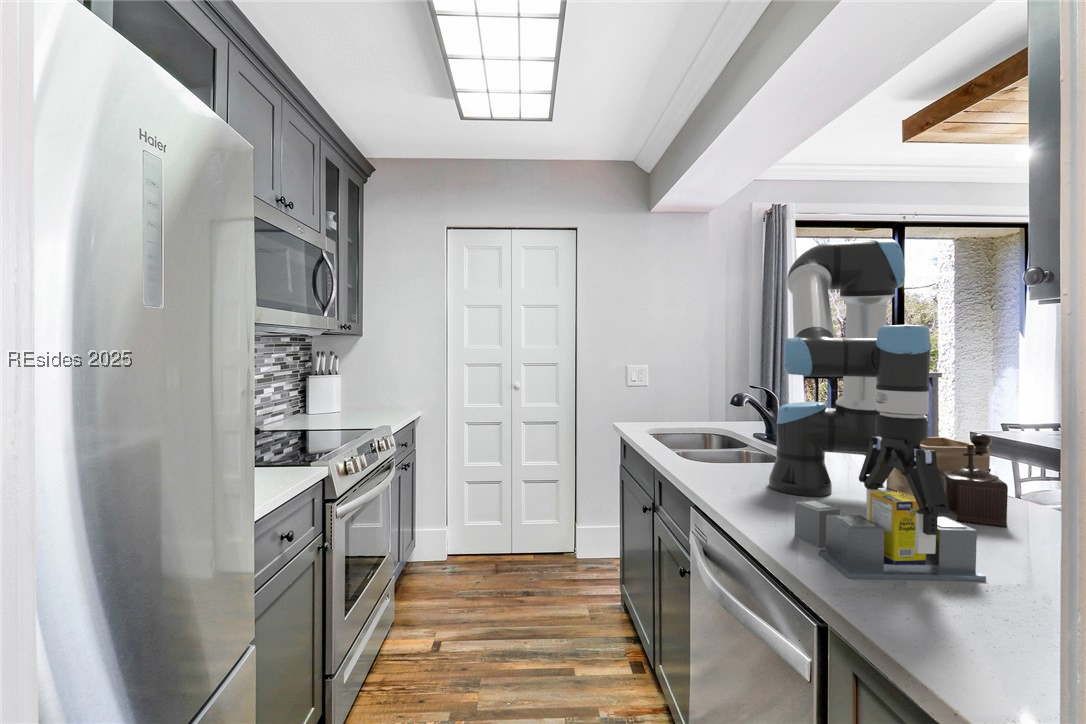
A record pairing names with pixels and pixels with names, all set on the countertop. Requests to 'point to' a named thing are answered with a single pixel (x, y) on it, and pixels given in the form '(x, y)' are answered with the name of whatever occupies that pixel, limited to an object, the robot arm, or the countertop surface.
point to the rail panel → (862, 557)
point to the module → (812, 521)
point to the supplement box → (897, 526)
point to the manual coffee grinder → (976, 489)
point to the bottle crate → (940, 460)
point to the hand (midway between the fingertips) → (898, 537)
